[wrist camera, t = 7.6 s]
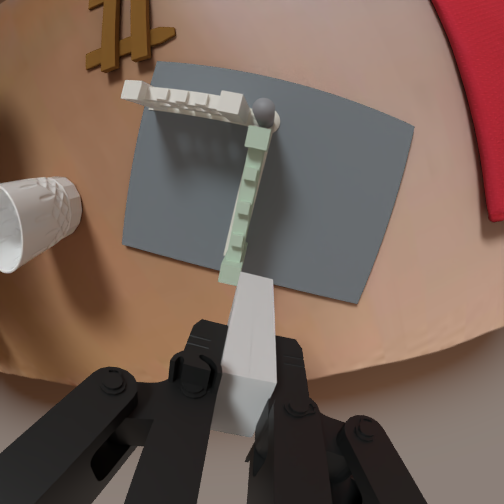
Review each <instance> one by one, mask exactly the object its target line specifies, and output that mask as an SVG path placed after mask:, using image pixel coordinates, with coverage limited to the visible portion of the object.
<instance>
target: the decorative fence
mask: <svg viewBox="0 0 504 504" xmlns="http://www.w3.org/2000/svg"><path fill="white" fill-rule="evenodd" d="M102 4H104V8H103V23H102V41H101V48H99V49H97V50H95V51H92V52H90V53H88V54H86V70H89V69H91V68H93V67H96V66H98V65H101V71H102V72H104V73H107V72H110V71H113V70H115V69H118V68H119V57H122V56H125V55H127V54H130V53H131V59H132V61H134V62H139V61H142V60H145V59H149V58H151V47H152V46H156V45H159V44H162V43H164V42H166V41H167V40H169V39H171V38H172V37H174V36H176V31H175V28H174V27H158V28H155V29H151V30H150V22H149V0H131V36H130V37H127V38H125V39H122V40H119V16H120V0H89V8H88V9H89V10H91V9H93V8H95V7H97V6H100V5H102Z"/></svg>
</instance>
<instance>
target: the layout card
mask: <svg viewBox="0 0 504 504" xmlns="http://www.w3.org/2000/svg"><path fill="white" fill-rule="evenodd" d="M150 85H151V86H153V87H159V88H169V89H178V90H186V91H193V92H200V93H207V94H213V95H219V96H220V95H221V91H222V90H223V91H229V92H234V93H239V94H243V95H244V97H245V99H246V101H247V103H248V106H249V108H250V112H249V116H248V120H247V124H246V125H245V124H240V123H236V122H231V121H229V120H228V119H227V118H225V117H224V116H218V115H213V114H208V113H201V112H195V111H190V110H182V109H177V108H169V107H168V111H165V110H158V109H152V108H149V107H146V106H145V107H144V112H143V116H142V120H141V124H140V129H139V134H138V138H137V143H136V148H135V153H134V159H133V164H132V170H131V176H130V183H129V189H128V196H127V203H126V211H125V220H124V229H123V239H122V244H123V245H126V246H130V247H134V248H137V249H141V250H144V251H148V252H152V253H155V254H159V255H162V256H166V257H170V258H173V259H177V260H181V261H185V262H188V263H192V264H196V265H200V266H204V267H207V268H211V269H215V270H219V271H220V268H221V263H222V261H223V259H224V257H225V254H226V252H227V250H228V247H229V242H230V236H231V231H232V226H233V221H234V216H235V211H236V206H237V201H238V196H239V191H240V186H241V181H242V176H243V171H244V167H245V162H246V157H247V152H248V147H245V141H246V136H247V132H248V127H249V125H251V126H257V127H260V126H259V125H258V123H257V121H256V118H255V116H254V113H253V111H252V106H253V103H254V102H255V101H256V100H257V99H259V98H268V99H270V100H271V101H272V102H273V103H274V105H275V118H274V124H273V126H272V127H270V128H268V129H271V139H270V143H269V148H268V152H265V153H264V158H263V162H262V167H261V172H260V176H259V181H258V186H257V190H256V195H255V200H254V204H253V209H252V214H251V218H250V223H249V228H248V233H247V237H246V242H247V243H248V245H247V250H246V255H245V259H244V263H243V267H242V271H241V272H245V273H249V274H253V275H257V276H261V277H265V278H269V279H273V284H274V285H279V286H283V287H287V288H291V289H295V290H299V291H303V292H308V293H312V294H316V295H320V296H325V297H329V298H333V299H338V300H342V301H346V302H351V303H355V304H358V301H359V299H360V296H361V294H362V292H363V289H364V287H365V284H366V282H367V279H368V277H369V274H370V272H371V269H372V267H373V264H374V261H375V259H376V256H377V253H378V251H379V248H380V245H381V242H382V239H383V236H384V234H385V231H386V228H387V225H388V222H389V219H390V216H391V212H392V209H393V206H394V203H395V200H396V196H397V193H398V190H399V186H400V183H401V179H402V175H403V172H404V168H405V164H406V160H407V156H408V152H409V148H410V144H411V140H412V136H413V131H414V126H412V125H410V124H408V123H406V122H404V121H401V120H399V119H397V118H394V117H392V116H390V115H387V114H385V113H383V112H380V111H378V110H375V109H373V108H370V107H367V106H365V105H362V104H359V103H357V102H354V101H351V100H348V99H345V98H342V97H339V96H336V95H333V94H330V93H327V92H324V91H321V90H317V89H314V88H311V87H307V86H303V85H300V84H296V83H292V82H288V81H284V80H280V79H276V78H272V77H267V76H263V75H258V74H253V73H248V72H243V71H237V70H231V69H225V68H218V67H211V66H204V65H195V64H186V63H175V62H161V61H157V64H156V67H155V71H154V74H153V77H152V81H151V84H150Z"/></svg>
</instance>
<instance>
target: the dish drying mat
mask: <svg viewBox="0 0 504 504" xmlns="http://www.w3.org/2000/svg"><path fill="white" fill-rule="evenodd" d="M431 1H432V3H433V5H434V7H435V9H436V11H437V13H438V16H439V18H440V20H441V23H442V25H443V27H444V29H445V32H446V34H447V36H448V39H449V41H450V44H451V47H452V50H453V53H454V56H455V59H456V62H457V65H458V68H459V71H460V75H461V78H462V81H463V85H464V88H465V91H466V95H467V99H468V103H469V107H470V111H471V115H472V119H473V123H474V128H475V132H476V137H477V143H478V148H479V154H480V159H481V166H482V173H483V180H484V189H485V196H486V204H487V211H488V215H489V216H488V219H489V220H490V221H491V222H497V221H503V220H504V0H431Z"/></svg>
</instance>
